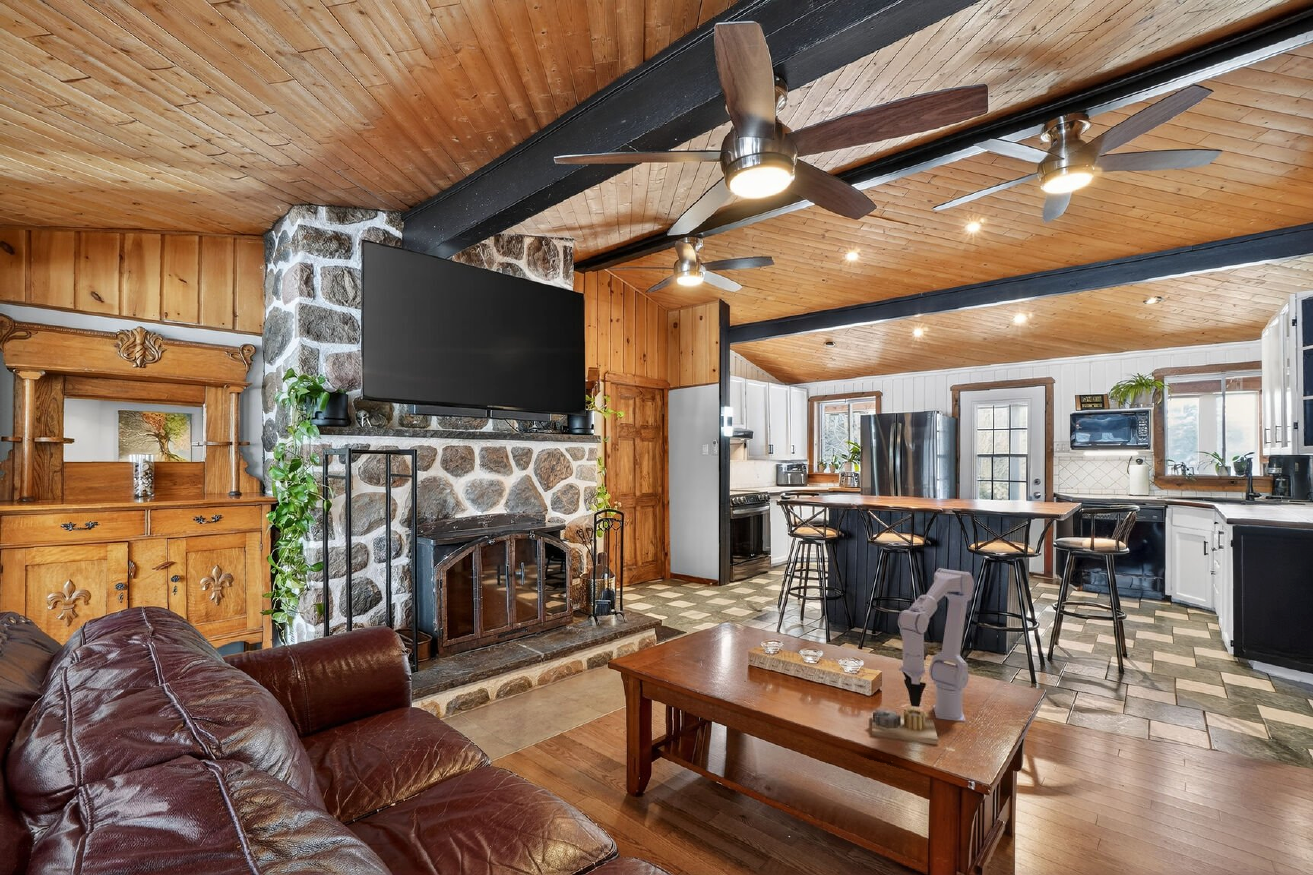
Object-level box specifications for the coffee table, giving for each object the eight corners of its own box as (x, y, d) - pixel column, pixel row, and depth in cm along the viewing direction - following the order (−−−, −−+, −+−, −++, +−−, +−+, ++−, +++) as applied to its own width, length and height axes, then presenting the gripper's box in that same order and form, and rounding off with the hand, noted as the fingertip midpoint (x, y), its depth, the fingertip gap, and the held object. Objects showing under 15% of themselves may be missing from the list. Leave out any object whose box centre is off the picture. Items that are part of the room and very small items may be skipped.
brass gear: (903, 721, 178) (903, 707, 178) (924, 723, 176) (924, 709, 176) (904, 729, 173) (904, 714, 173) (926, 732, 171) (926, 717, 171)
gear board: (871, 717, 184) (871, 700, 184) (933, 725, 179) (932, 707, 179) (872, 735, 172) (872, 717, 172) (938, 744, 166) (937, 726, 166)
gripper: (897, 644, 183) (897, 689, 183) (899, 659, 169) (900, 708, 169) (922, 646, 181) (923, 692, 180) (927, 662, 167) (928, 712, 167)
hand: (914, 700), depth 175 cm, fingers open, 7 cm apart
